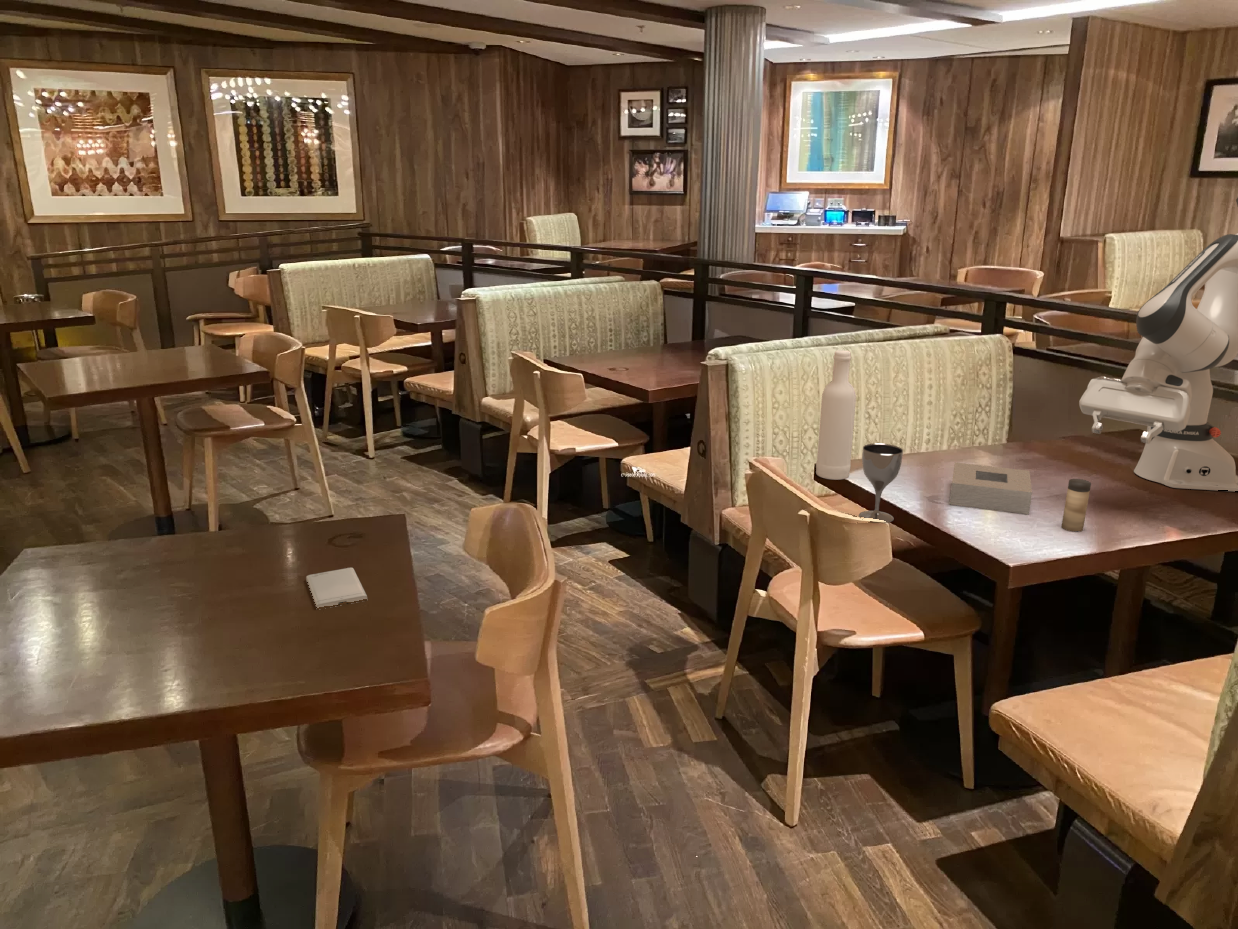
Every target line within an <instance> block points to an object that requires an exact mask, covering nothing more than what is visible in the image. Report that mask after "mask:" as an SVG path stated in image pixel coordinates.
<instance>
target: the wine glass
mask: <svg viewBox="0 0 1238 929" xmlns="http://www.w3.org/2000/svg"><path fill="white" fill-rule="evenodd" d="M903 454H904V450H903V448H902V447H900V446H897V445H894V444H889V443H877V442H876V443H868V444H865V445H863V447H862V458H861V459H862V461H861V462H862V469H863V470H862V471H863V473H864V475H865V477H866V478H867V480H868V482H870V484H871V485H872V487H873V489H874V492H875V493H874V494H875V503H874V504H875V505H874V510H865V511H862V512H860V513H859V514H858V517H859V518H860V517H864V518H873V519H879V520H884V521H886V522H888V523H891V522H893V521H894V520H895V518H894V516H893V515H892V514H889V513H887V512H884V511H880V502H881V497H882V494H883V491H884V489H886V487H887V486H888V485H890V483H892V482H893V481H894V480H895V479H896V478H897V476H898V474H899V472H900V469H901V466H902V461H903Z"/></svg>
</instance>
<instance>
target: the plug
mask: <svg viewBox="0 0 1238 929" xmlns="http://www.w3.org/2000/svg"><path fill="white" fill-rule="evenodd" d="M1091 486H1092V482H1091V481H1089V480H1086V479H1083V478H1081V479H1080V478H1070V479H1068V485H1067V491H1066V497H1065V504H1064V509H1063V513H1062V514H1063V516H1062V519H1061V525H1060V526H1061V529H1063V530H1065V531H1067V532H1068V531H1069V532H1073V531H1080V532H1082V531H1084V526H1085V520H1086V515H1087V508H1088V505H1089V504H1088V503H1089V497H1090V492H1091Z"/></svg>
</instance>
